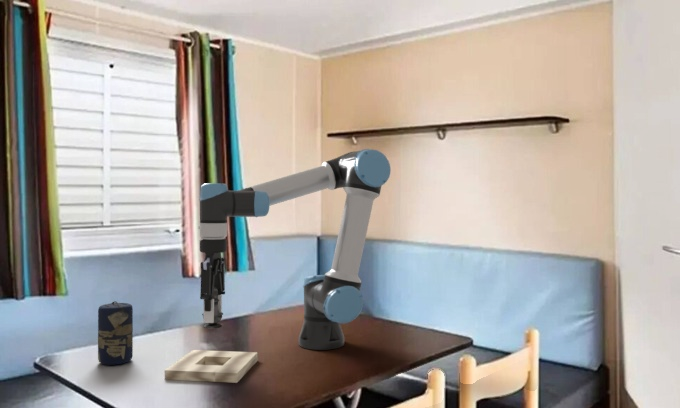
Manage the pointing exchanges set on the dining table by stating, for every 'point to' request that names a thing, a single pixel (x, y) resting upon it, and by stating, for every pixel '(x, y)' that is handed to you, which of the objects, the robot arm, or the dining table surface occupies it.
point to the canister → (115, 333)
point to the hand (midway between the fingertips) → (212, 319)
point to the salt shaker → (215, 313)
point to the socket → (212, 366)
